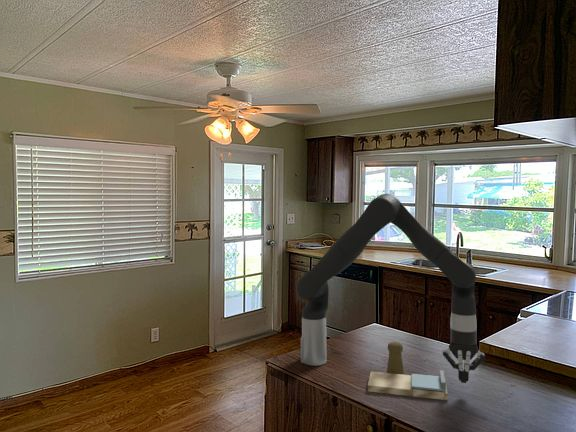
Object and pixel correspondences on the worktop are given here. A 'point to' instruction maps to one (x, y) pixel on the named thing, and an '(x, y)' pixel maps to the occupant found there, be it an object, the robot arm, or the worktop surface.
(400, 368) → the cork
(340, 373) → the worktop surface
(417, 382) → the cover
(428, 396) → the board
